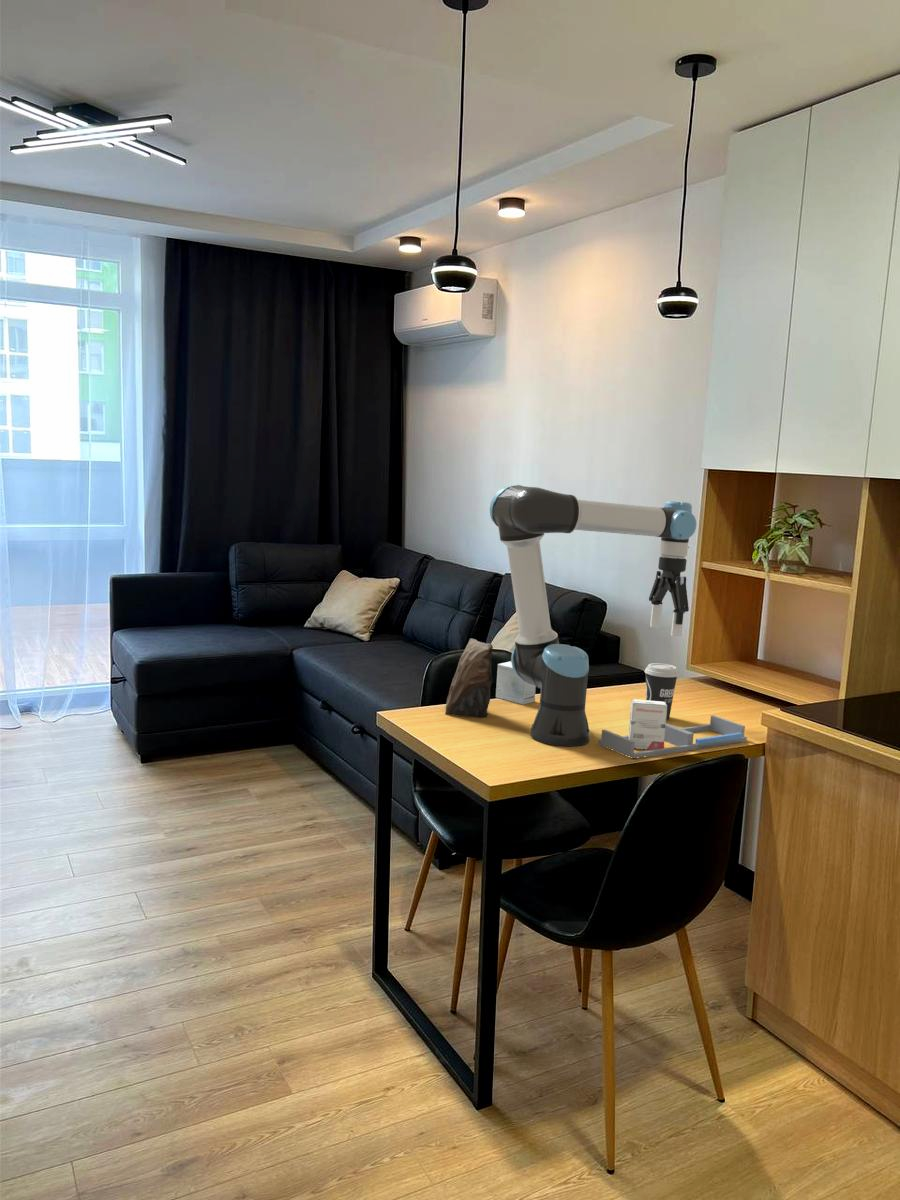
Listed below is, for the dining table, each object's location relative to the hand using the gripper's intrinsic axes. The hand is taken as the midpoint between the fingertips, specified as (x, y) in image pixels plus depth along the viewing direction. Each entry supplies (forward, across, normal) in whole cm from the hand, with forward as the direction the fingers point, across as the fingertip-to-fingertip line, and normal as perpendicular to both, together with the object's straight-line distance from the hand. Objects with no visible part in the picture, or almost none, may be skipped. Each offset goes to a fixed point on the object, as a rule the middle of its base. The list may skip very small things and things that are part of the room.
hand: (665, 631), depth 261 cm
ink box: (+26, -28, +16) cm, 41 cm away
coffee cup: (+25, -1, 0) cm, 25 cm away
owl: (+26, +6, +55) cm, 61 cm away
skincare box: (+26, +19, +36) cm, 49 cm away
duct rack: (+25, -25, +6) cm, 36 cm away
